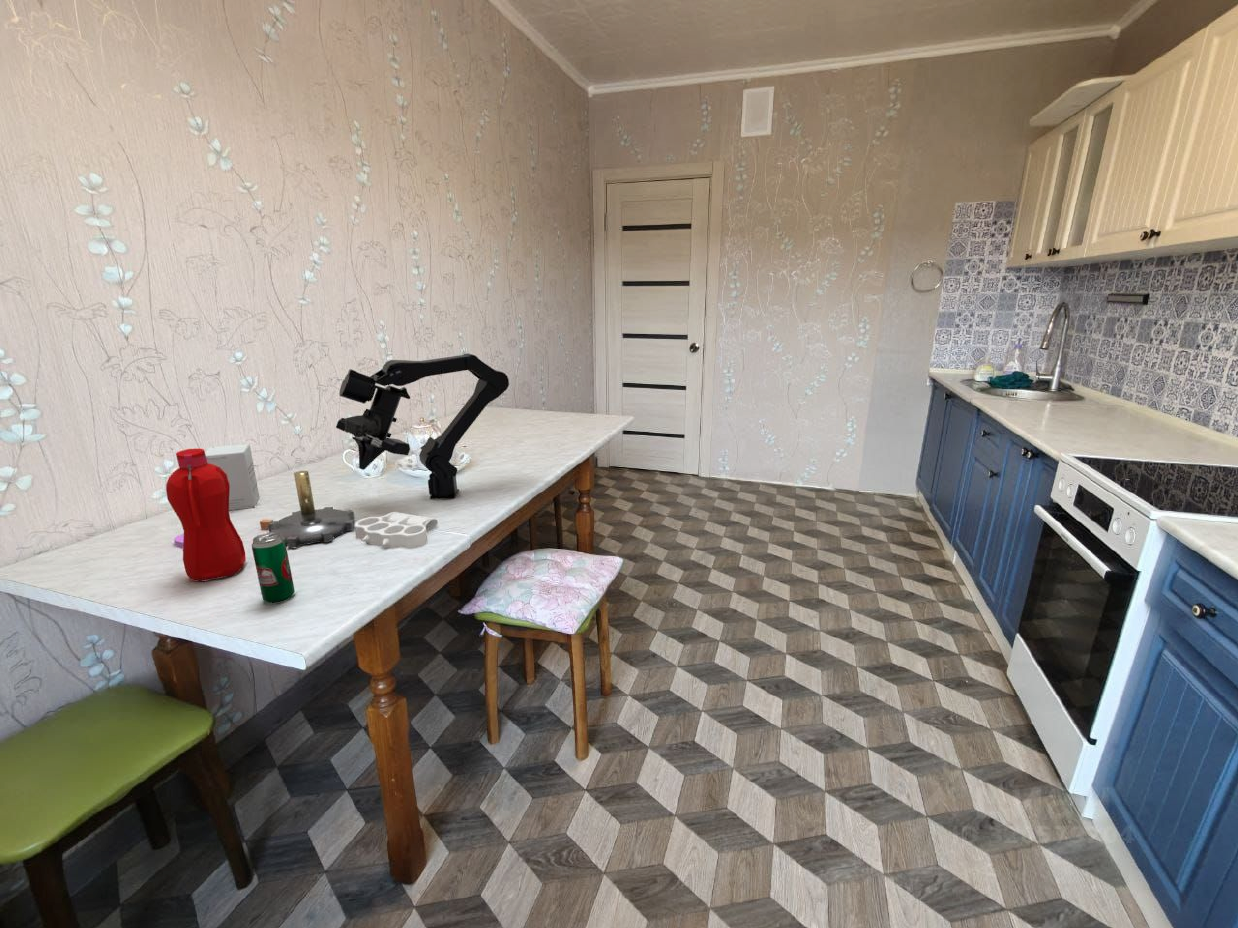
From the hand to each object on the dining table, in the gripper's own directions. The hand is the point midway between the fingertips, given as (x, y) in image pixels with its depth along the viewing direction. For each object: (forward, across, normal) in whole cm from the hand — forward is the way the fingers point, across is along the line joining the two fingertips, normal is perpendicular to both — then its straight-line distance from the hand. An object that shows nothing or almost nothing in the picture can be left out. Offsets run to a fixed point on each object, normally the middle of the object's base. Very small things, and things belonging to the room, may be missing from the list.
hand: (361, 469), depth 140 cm
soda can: (+19, +21, -33) cm, 44 cm away
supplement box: (+22, -30, -3) cm, 37 cm away
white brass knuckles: (+9, +20, -6) cm, 23 cm away
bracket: (+25, -14, -22) cm, 36 cm away
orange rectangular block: (+19, -9, -12) cm, 24 cm away
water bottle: (+23, +2, -30) cm, 38 cm away
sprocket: (+15, +1, -10) cm, 18 cm away
